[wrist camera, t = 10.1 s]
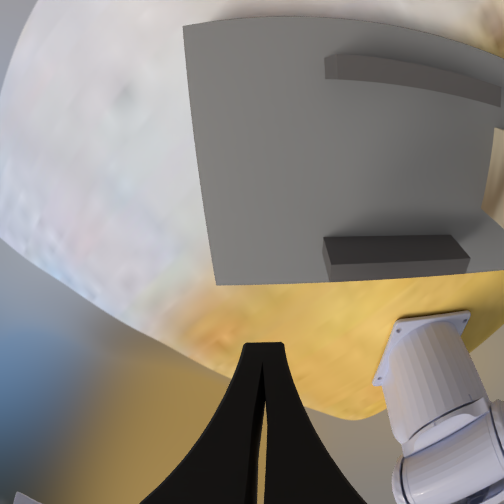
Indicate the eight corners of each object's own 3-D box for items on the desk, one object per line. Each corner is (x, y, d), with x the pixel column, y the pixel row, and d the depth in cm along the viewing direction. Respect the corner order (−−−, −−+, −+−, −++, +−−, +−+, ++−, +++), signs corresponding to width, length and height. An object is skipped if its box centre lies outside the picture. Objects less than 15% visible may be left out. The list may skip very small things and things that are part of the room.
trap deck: (548, 248, 18) (577, 279, 13) (221, 261, 20) (209, 315, 16) (578, 105, 10) (617, 123, 6) (195, 33, 12) (164, 16, 8)
